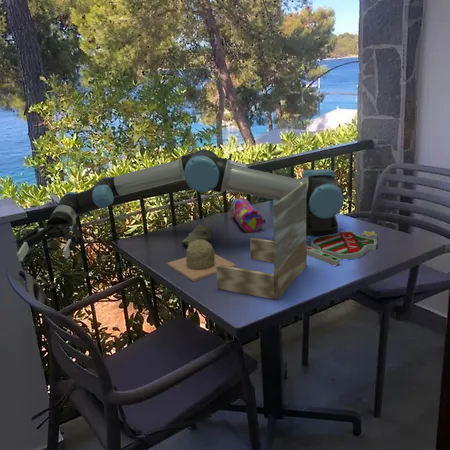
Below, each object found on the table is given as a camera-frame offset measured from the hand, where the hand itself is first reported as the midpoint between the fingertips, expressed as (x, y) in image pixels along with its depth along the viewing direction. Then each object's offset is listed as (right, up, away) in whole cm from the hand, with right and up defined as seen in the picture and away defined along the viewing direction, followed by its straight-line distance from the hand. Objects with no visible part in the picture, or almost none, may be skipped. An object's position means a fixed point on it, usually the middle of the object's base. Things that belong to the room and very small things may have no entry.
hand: (42, 256), depth 140 cm
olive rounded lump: (+46, -3, +13) cm, 48 cm away
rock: (+44, +2, +33) cm, 55 cm away
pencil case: (+63, +9, +50) cm, 81 cm away
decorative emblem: (+96, +1, +23) cm, 98 cm away
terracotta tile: (+46, -4, +13) cm, 48 cm away
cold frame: (+65, -6, +3) cm, 65 cm away
